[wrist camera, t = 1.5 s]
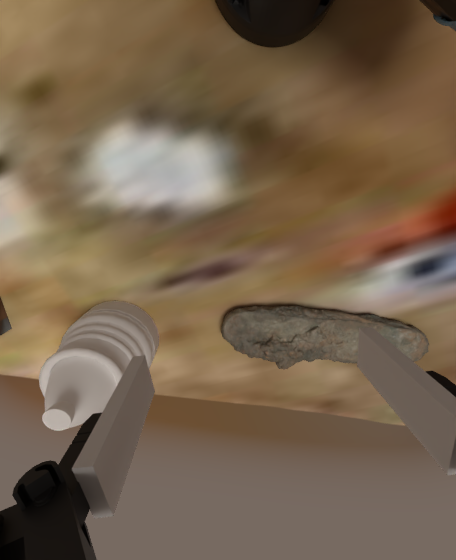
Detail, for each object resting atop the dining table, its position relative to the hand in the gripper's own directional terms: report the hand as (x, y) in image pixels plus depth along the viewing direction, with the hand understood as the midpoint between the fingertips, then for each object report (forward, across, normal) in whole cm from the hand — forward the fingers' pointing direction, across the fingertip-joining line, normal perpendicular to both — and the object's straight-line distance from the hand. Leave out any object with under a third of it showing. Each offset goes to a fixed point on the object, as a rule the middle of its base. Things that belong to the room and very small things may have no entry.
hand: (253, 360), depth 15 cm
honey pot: (+24, -20, -10) cm, 33 cm away
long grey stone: (+24, +14, -14) cm, 31 cm away
